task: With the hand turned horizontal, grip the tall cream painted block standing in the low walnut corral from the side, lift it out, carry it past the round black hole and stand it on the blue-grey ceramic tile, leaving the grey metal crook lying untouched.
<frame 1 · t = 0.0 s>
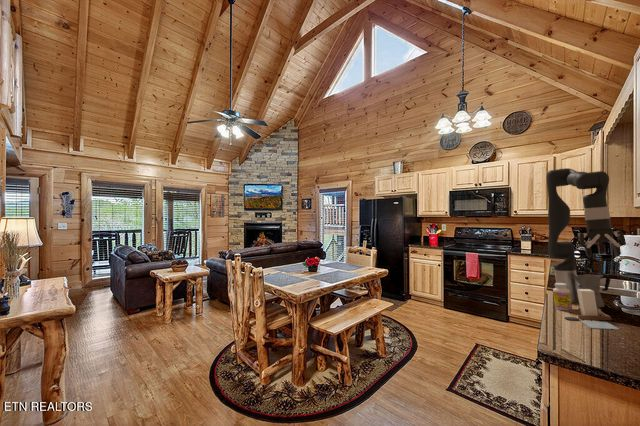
hand: (603, 256, 115), 29 cm above the counter, tool pointing down, fingers open, 8 cm apart
supplement bottle: (563, 309, 140), on the counter
tile: (598, 325, 116), on the counter
hole: (571, 319, 126), on the counter
crook: (589, 311, 134), on the counter
block: (589, 316, 128), on the counter
corral: (589, 315, 128), on the counter
coffeepot: (595, 305, 143), on the counter
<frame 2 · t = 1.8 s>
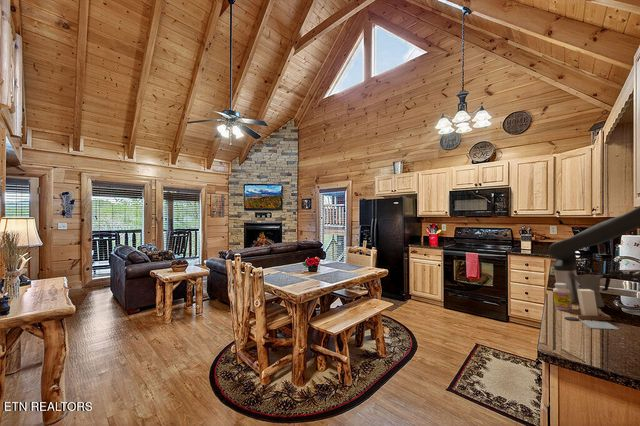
hand: (614, 275, 125), 19 cm above the counter, tool horizontal, fingers open, 8 cm apart
nothing on the counter moved.
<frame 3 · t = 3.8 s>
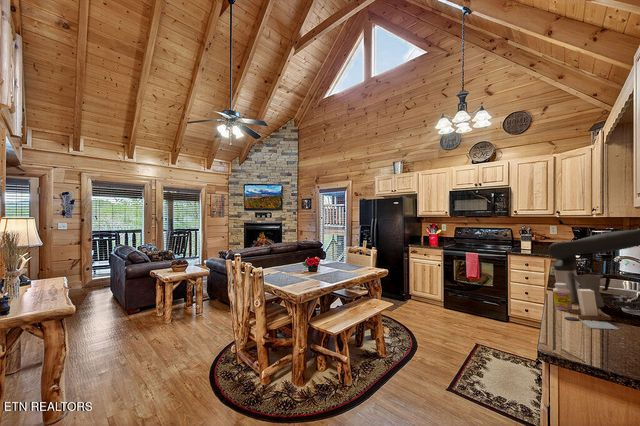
hand: (607, 301, 126), 7 cm above the counter, tool horizontal, fingers open, 8 cm apart
nothing on the counter moved.
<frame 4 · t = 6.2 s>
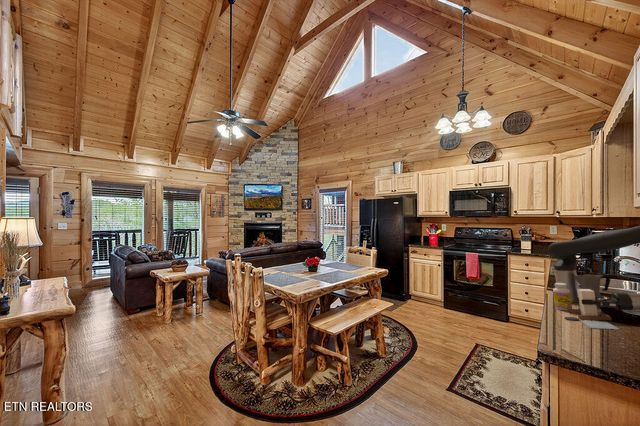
hand: (579, 300, 130), 7 cm above the counter, tool horizontal, fingers closed on block, 4 cm apart
block: (589, 316, 128), on the counter, touching gripper
everything else where it was.
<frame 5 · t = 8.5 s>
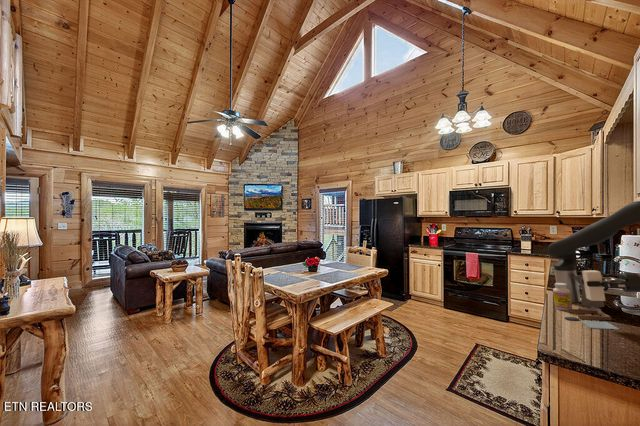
hand: (584, 282, 119), 18 cm above the counter, tool horizontal, fingers closed on block, 4 cm apart
block: (595, 299, 117), point 11 cm above the counter, touching gripper
everything else where it was.
when the fingers open (7 cm above the counter, at t = 10.9 s): block stays where it is, resting on tile.
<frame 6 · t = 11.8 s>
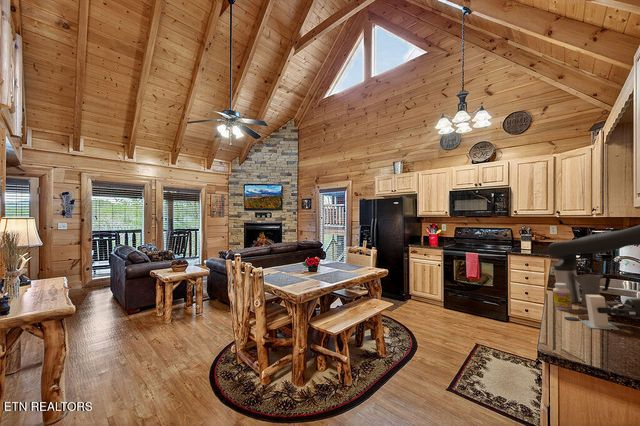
hand: (592, 307, 117), 8 cm above the counter, tool horizontal, fingers open, 8 cm apart
block: (599, 324, 116), resting on tile
everything else where it was.
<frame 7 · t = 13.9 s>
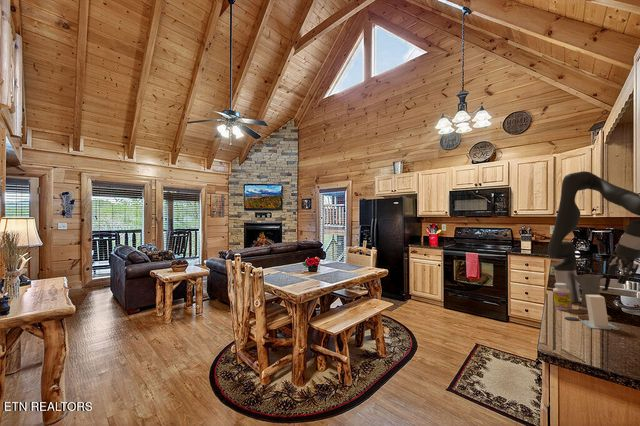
hand: (615, 278, 119), 19 cm above the counter, tool tilted 25°, fingers open, 8 cm apart
nothing on the counter moved.
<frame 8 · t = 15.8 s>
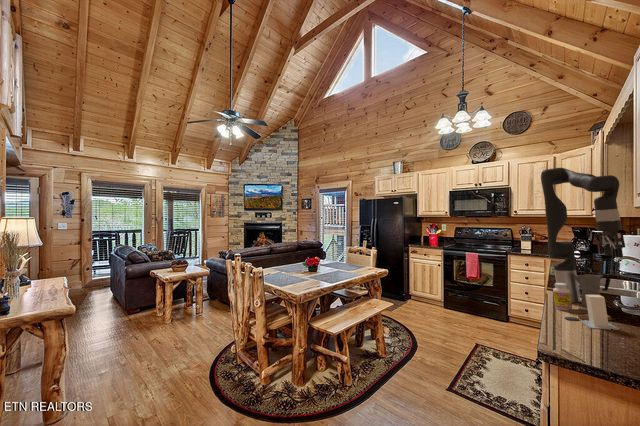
hand: (613, 256, 120), 28 cm above the counter, tool pointing down, fingers open, 8 cm apart
nothing on the counter moved.
at the end: block inside the target area on the tile (0.1 cm from its centre), point 0.4 cm above the tile's base; block tilted 0°; the gripper is holding nothing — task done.
